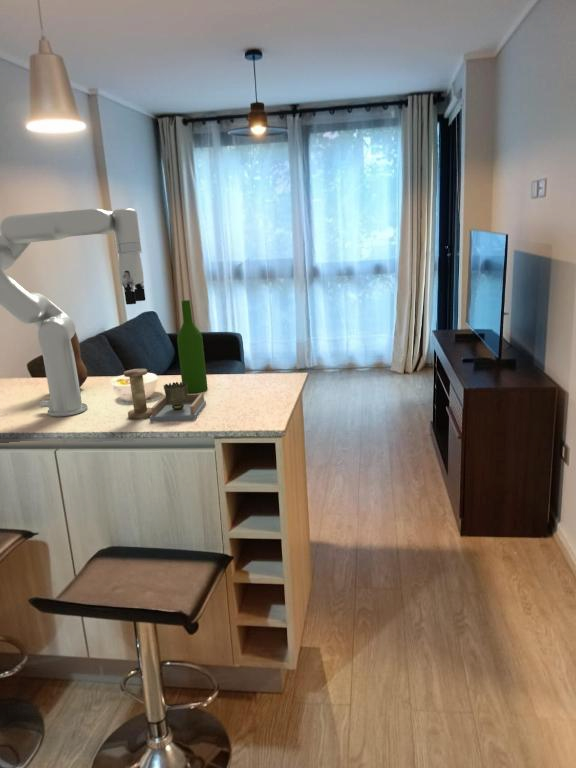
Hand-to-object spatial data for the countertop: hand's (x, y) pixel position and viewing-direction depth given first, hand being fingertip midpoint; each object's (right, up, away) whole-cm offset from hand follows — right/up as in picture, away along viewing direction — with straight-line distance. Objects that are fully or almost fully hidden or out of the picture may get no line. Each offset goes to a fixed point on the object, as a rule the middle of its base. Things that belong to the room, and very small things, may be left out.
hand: (136, 302), depth 194 cm
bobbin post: (+3, -37, -6) cm, 37 cm away
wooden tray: (+15, -36, -6) cm, 40 cm away
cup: (+15, -35, -7) cm, 39 cm away
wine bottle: (+16, -29, +21) cm, 39 cm away
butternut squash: (-34, -29, +35) cm, 57 cm away
